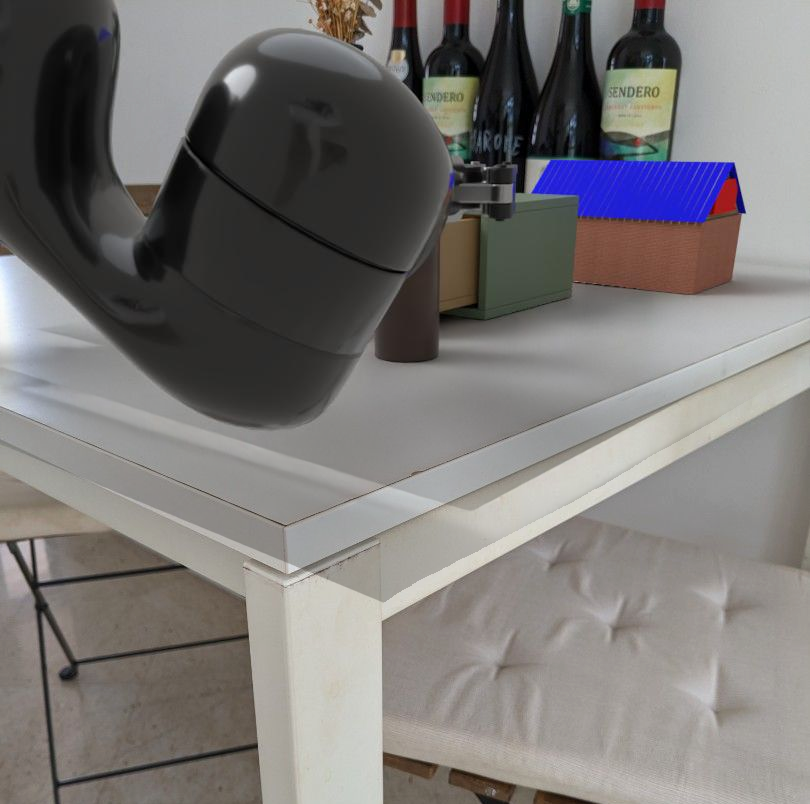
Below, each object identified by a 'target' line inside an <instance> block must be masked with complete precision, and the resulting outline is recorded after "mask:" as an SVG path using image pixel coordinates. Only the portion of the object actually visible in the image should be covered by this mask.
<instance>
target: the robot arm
mask: <svg viewBox="0 0 810 804" xmlns="http://www.w3.org/2000/svg"><path fill="white" fill-rule="evenodd" d="M121 27H122V25H121V21H120V14H119V11H118V7H117V5H116V2H115V0H0V243H1V244H2V246H4V247H5V248H6V249H8V251H10V252H11V253H12V254H13V255H14V256H16V257H17V258H18V259H19V260H20V261H21V262H22V263H23V264H24V265H26V266H27V267H28V268H29V269H30V270H31V271H33V272H34V273H35V274H36V275H37V276H39V277H40V278H41V279H42V280H43V281H44V282H45V283H46V284H48V285H49V286H50V287H51V288H52V290H54V291H55V292H56V293H57V294H59V296H60V297H61V298H63V300H65V301H66V302H67V303H68V304H69V305H70V306H72V308H73V309H75V310H76V311H77V312H78V313H79V314H80V315H81V316H82V317H83V318H84V319H85V320H86V321H87V323H89V324H90V325H91V326H92V328H94V329H95V330H96V331H97V332H98V333H99V334H100V335H101V336H103V337H104V339H106V341H108V343H110V344H111V345H112V346H113V347H114V348H115V349H116V350H117V351H118V352H119V353H120V354H121V355H122V356H123V357H124V358H125V359H126V360H127V361H128V362H130V364H131V365H133V367H135V369H137V370H138V371H139V372H140V373H142V374H143V375H144V376H145V377H146V378H148V379H149V380H150V381H151V382H153V384H155V385H156V386H157V387H158V388H159V389H161V390H162V391H163V392H164V393H166V394H167V395H169V396H170V397H171V398H173V399H174V400H176V401H178V402H179V403H181V404H182V405H184V406H186V407H188V408H189V409H191V410H192V411H194V412H196V413H197V414H200V415H202V416H204V417H206V418H208V419H211V420H213V421H216V422H219V423H222V424H224V425H228V426H231V427H235V428H239V429H244V430H245V429H246V430H251V431H269V432H273V431H282V430H283V431H284V430H290V429H291V430H292V429H296V428H299V427H301V426H304V425H307V424H309V423H312V422H313V421H315V420H317V419H318V418H319V417H321V416H322V415H323V414H324V413H325V412H327V410H328V409H329V408H330V407H331V406H332V404H333V403H334V401H335V400H336V399H337V398H338V396H339V395H340V393H341V391H342V390H343V388H344V386H345V385H346V383H347V381H348V380H349V378H350V376H351V375H352V373H353V371H354V369H355V367H356V366H357V364H358V362H359V360H360V359H361V357H362V355H363V353H364V352H365V349H366V348H367V346H368V344H369V342H370V341H371V339H372V338H373V337H374V332H375V331H376V329H377V327H378V326H379V324H380V322H381V320H382V319H383V317H384V315H385V314H386V312H387V310H388V308H389V307H390V305H391V303H392V302H393V300H394V298H395V297H396V295H397V293H398V292H399V290H400V288H401V287H402V285H403V283H404V282H405V280H406V279H407V278H409V277H410V276H411V275H412V274H413V273H414V272H415V271H416V270H417V269H418V268H419V267H420V266H421V265H422V264H423V263H424V261H425V260H426V259H427V257H428V256H429V254H430V253H431V251H432V249H433V248H434V246H435V244H436V242H437V241H438V239H439V237H440V235H441V233H442V231H443V229H444V227H445V224H446V223H453V222H459V221H460V220H461V218H462V215H463V213H464V212H468V211H470V213H477V212H478V210H482V213H481V215H482V216H489V218H491V219H495V221H505V219H509V218H512V216H513V214H514V212H515V211H516V202H515V193H517V192H516V190H517V189H516V188H517V174H518V167H519V165H518V164H512V163H513V162H512V161H502V163H500V164H495V165H493V166H486V165H487V164H485V163H480V161H478V160H477V161H470V163H465V162H464V159H463V157H462V156H460V155H451V151H450V149H449V147H448V144H447V142H446V139H445V137H444V135H443V134H442V132H441V130H440V128H439V127H438V125H437V123H436V121H435V119H434V118H433V116H432V115H431V114H430V112H429V110H428V109H427V108H426V107H425V106H424V105H423V103H422V102H421V101H420V100H419V98H418V97H417V95H416V94H415V93H414V92H413V91H412V90H411V89H410V88H409V86H407V85H406V84H405V83H404V82H403V81H402V80H401V79H400V78H399V77H398V76H397V75H396V74H394V73H393V72H392V71H391V70H389V68H387V67H386V66H385V65H383V64H382V63H381V62H379V61H378V60H376V59H375V58H374V57H373V56H371V55H370V54H368V53H366V52H365V51H363V50H361V49H359V48H358V47H356V46H354V45H352V44H351V43H349V42H347V41H344V40H341V39H340V38H338V37H335V36H332V35H329V34H326V33H323V32H318V31H315V30H314V31H313V30H310V29H305V28H298V27H276V28H269V29H266V30H262V31H260V32H257V33H255V34H252V35H249V36H248V37H246V38H245V39H243V40H242V41H241V42H239V43H238V44H236V45H234V47H232V48H231V49H230V50H229V51H228V52H227V53H226V54H225V55H224V56H223V57H222V59H221V60H220V61H219V62H218V63H217V64H216V66H215V67H214V68H213V69H212V71H211V73H210V74H209V77H208V78H207V80H206V81H205V83H204V85H203V87H202V89H201V91H200V93H199V95H198V97H197V99H196V102H195V104H194V107H193V109H192V111H191V113H190V116H189V118H188V121H187V123H186V126H185V128H184V135H183V136H182V137H180V140H179V141H178V145H177V147H176V149H175V152H174V154H173V156H172V159H171V161H170V163H169V166H168V169H167V171H166V173H165V175H164V178H163V180H162V182H161V185H160V188H159V190H158V193H157V195H156V197H155V199H154V201H153V204H152V206H151V209H150V210H149V213H148V216H147V217H146V216H145V215H144V213H143V212H142V211H141V210H140V208H139V207H138V205H137V203H136V202H135V201H134V199H133V197H132V196H131V195H130V193H129V191H128V190H127V188H126V186H125V184H124V183H123V180H122V179H121V177H120V174H119V172H118V170H117V168H116V165H115V158H114V149H113V128H114V127H113V125H114V124H113V123H114V115H115V114H114V112H115V104H116V98H117V97H116V96H117V90H118V83H119V77H120V76H119V75H120V68H121V56H122V55H121V52H122V31H121V29H122V28H121Z"/></svg>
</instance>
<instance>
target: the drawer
mask: <svg viewBox="0 0 810 804" xmlns="http://www.w3.org/2000/svg"><path fill="white" fill-rule="evenodd" d="M481 216H482V215H467V214H463V215H462V218H461V220H460V221H459V222H453V223H446V224H445V227H444V229H443V231H442V233H441V235H440V299H439V312H441V311H446V310H450V309H454V308H458V307H462V306H466V305H470V304H474V303H478V298H479V266H480V234H481Z"/></svg>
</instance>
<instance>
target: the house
mask: <svg viewBox="0 0 810 804" xmlns="http://www.w3.org/2000/svg"><path fill="white" fill-rule="evenodd" d="M739 180H740V179H739V176H738V171H737V168H736V163H735V162H733V161H677V160H676V161H673V160H672V161H671V160H668V161H667V160H605V159H604V160H600V159H584V160H583V159H550V160H549V161H548V163H547V164H546V166H545V169H544V170H543V172H542V174H541V175H540V177H539V179H538V181H537V182H536V184H535V185H534V187H533V189H532V191H531V192H530V194H553V195H577V196H579V204H578V218H577V232H576V245H575V258H574V271H573V281H578V282H585V283H596V284H604V285H611V286H610V287H614V286H619V287H618V288H623V287H626V288H625V289H633V288H636V289H635V290H643V291H655V292H664V293H673V294H683V295H696V294H698V293H700V292H703V291H706V290H708V289H712V288H714V287H716V286H719V285H722V284H725V283H728V282H730V281H732V280H733V274H734V268H735V263H736V262H735V261H736V256H737V250H738V249H737V248H738V243H739V235H740V229H741V223H742V217H743V214H745V215H746V214H747V211H746V206H745V202H744V198H743V193H742V190H741V185H740V181H739ZM585 283H584V284H585ZM604 285H603V286H604Z"/></svg>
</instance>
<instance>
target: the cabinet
mask: <svg viewBox="0 0 810 804" xmlns="http://www.w3.org/2000/svg"><path fill="white" fill-rule="evenodd" d="M515 202H516V211H515V212H514V214H513V216H512V218H509V219H505V221H495V219H491V218H489V216H481V234H480V266H479V298H478V303H474V304H470V305H466V306H462V307H458V308H454V309H450V310H446V311H441V312H439V315H440V314H441V315H448V316H455V317H460V318H469V319H475V320H481V321H486V320H490V319H494V318H498V317H502V316H505V314H506V315H509V314H513V313H516V311H517V312H520V311H524V310H528V309H531V307H532V308H535V307H538V305H539V306H542V304H543V305H546V304H550V303H553V302H552V301H554V302H557V301H556V300H558V301H560V299H561V300H565V299H568V298H567V297H569V298H571V297H572V294H573V284H574V282H573V271H574V258H575V245H576V232H577V218H578V204H579V196H577V195H553V194H531V193H527V192H526V193H525V192H516V193H515ZM481 213H482V210H478V212H477V213H470V211H468V212H464V213H463V214H467V215H481ZM570 296H571V297H570ZM564 298H565V299H564ZM527 308H528V309H527ZM523 309H524V310H523ZM512 312H513V313H512Z"/></svg>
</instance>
